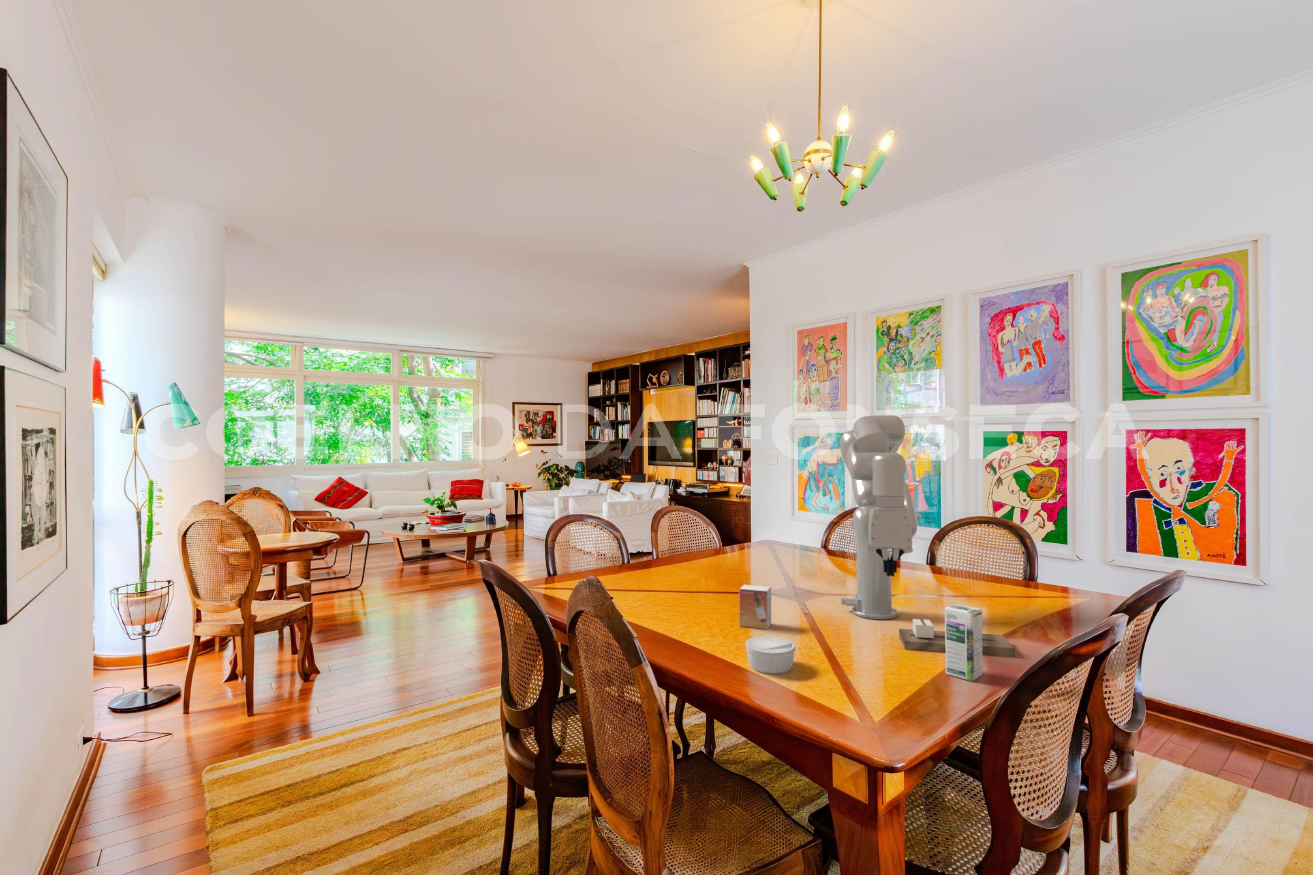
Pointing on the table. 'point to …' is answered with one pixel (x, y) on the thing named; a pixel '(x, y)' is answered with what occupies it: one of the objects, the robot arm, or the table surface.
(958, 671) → the syrup box
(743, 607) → the small box
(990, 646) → the fader board
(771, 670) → the ramekin
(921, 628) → the fader knob
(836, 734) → the table surface
